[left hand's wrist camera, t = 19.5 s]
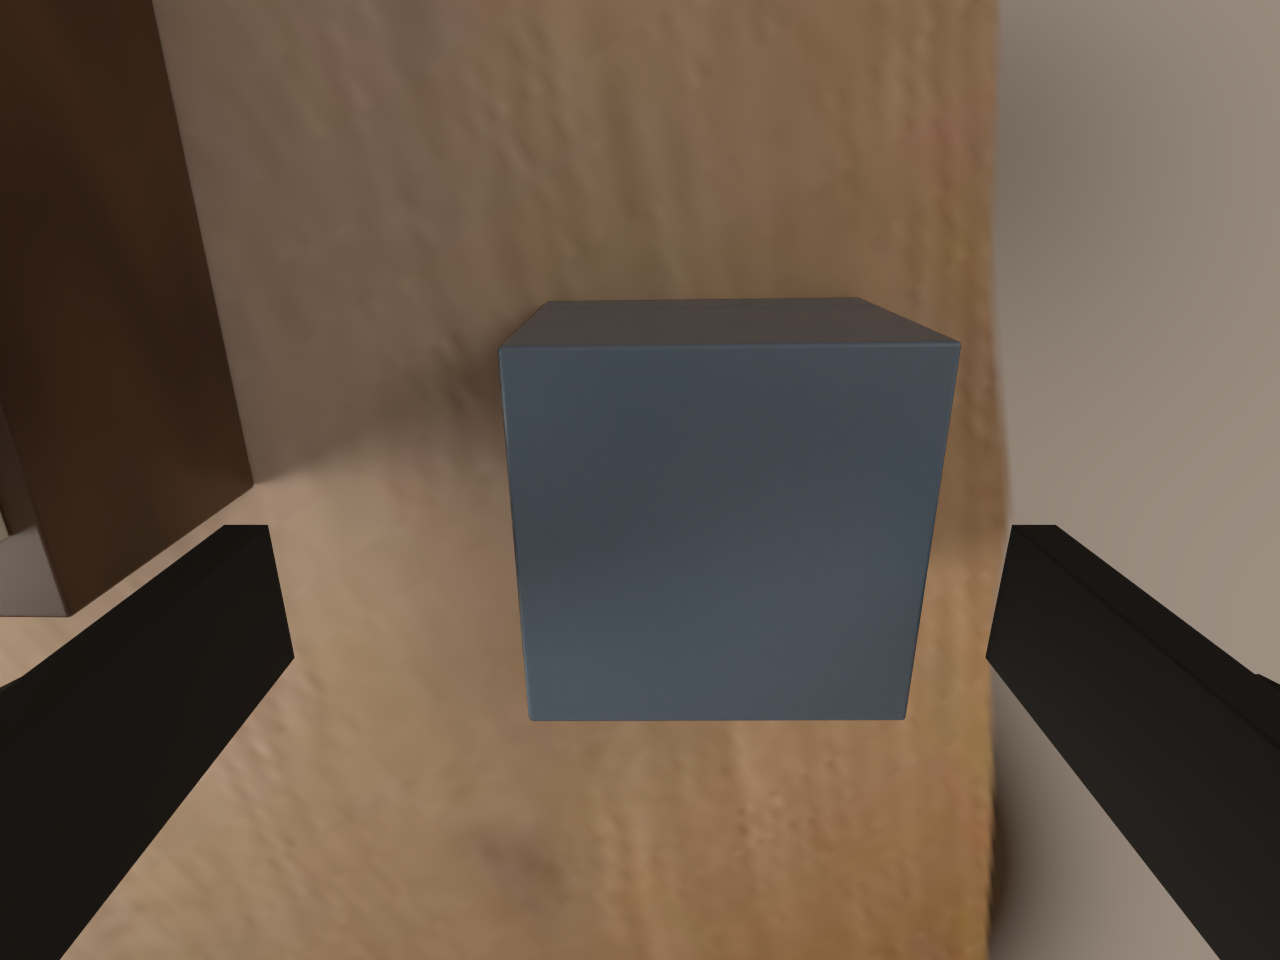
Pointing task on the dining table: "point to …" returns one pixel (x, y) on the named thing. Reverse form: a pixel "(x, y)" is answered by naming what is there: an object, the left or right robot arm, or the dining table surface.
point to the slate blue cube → (723, 505)
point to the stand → (101, 312)
